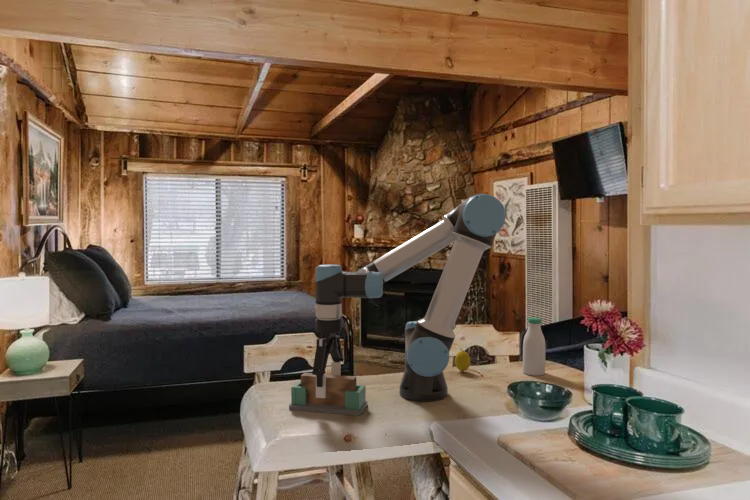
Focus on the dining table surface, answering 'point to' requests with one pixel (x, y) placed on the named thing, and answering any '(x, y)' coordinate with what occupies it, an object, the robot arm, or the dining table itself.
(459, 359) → the lemon
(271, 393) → the dining table surface
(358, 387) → the cradle
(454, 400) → the dining table surface
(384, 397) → the dining table surface
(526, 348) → the milk bottle
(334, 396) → the slat
